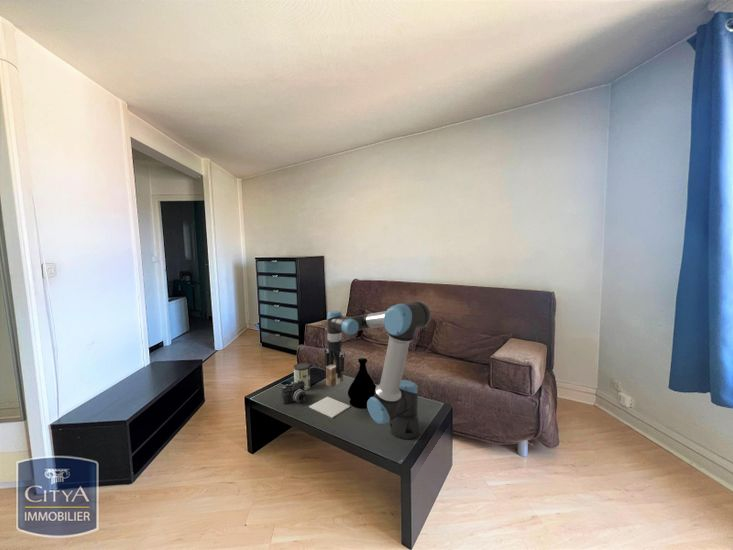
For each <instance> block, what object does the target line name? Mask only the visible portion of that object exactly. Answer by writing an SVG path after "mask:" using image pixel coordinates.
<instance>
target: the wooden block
mask: <svg viewBox="0 0 733 550" xmlns="http://www.w3.org/2000/svg"><path fill="white" fill-rule="evenodd" d="M336 372H337V370H336V363H335V362H333V364H331V365H329V366H326V365H325V385H326V386H327V387H331V388H332V387H335V386H336ZM343 382H344V371H343V372H341V378H340V383H343Z"/></svg>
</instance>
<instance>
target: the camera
mask: <svg viewBox="0 0 733 550" xmlns="http://www.w3.org/2000/svg"><path fill="white" fill-rule="evenodd" d="M280 393H281V395H280V397H281V399H280V400H281V404H282V405H286V404H288V403H291V402H293V401H294V402H297V403H298V404H299V403H304V402H305V400H306V398H307V394H306V391H305V390H304V382H303V380H299V381H298V382H295V381H294V380H293V381H292V382H290V383H289V384H287V383H286V384H285V385H284V386H281V389H280Z"/></svg>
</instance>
